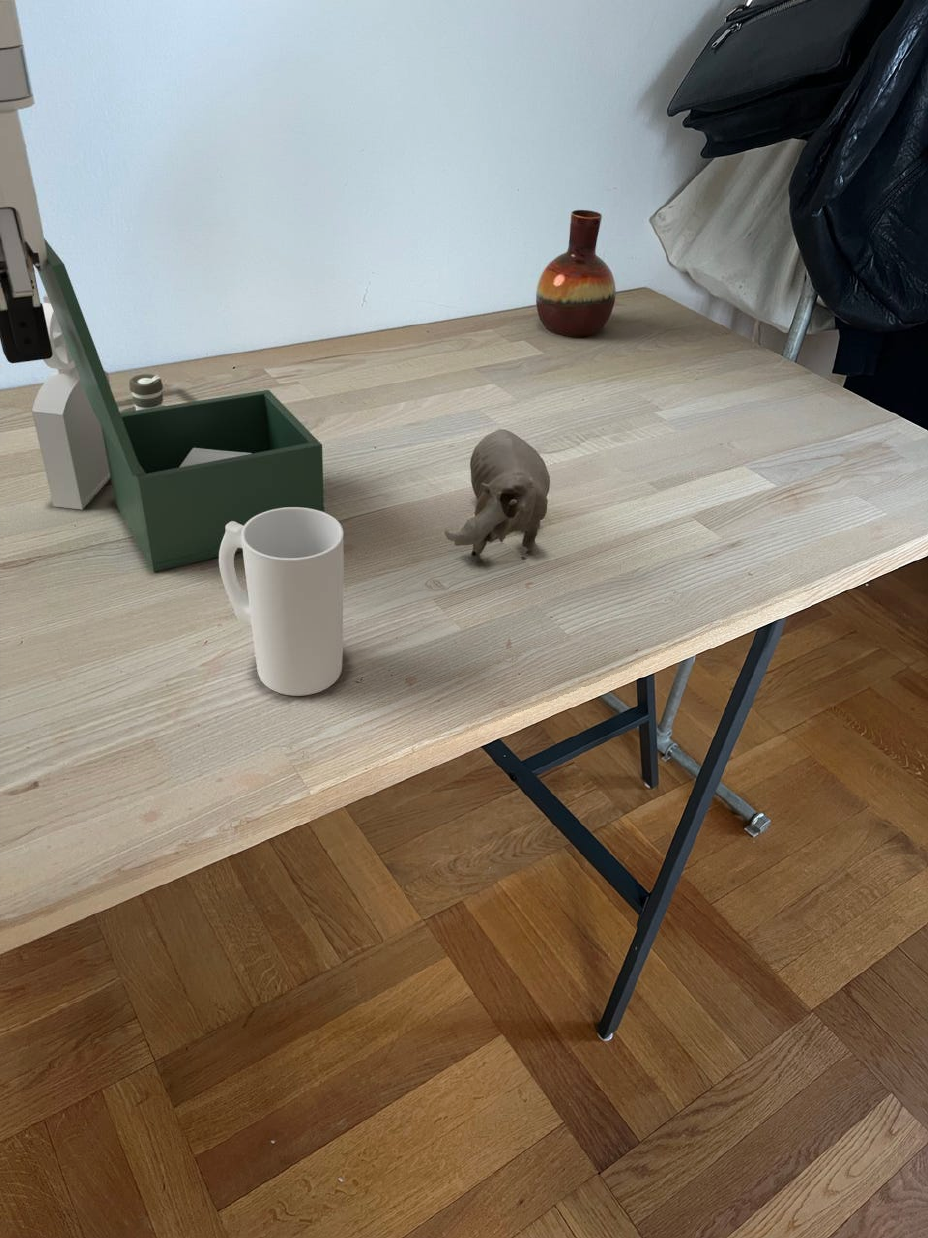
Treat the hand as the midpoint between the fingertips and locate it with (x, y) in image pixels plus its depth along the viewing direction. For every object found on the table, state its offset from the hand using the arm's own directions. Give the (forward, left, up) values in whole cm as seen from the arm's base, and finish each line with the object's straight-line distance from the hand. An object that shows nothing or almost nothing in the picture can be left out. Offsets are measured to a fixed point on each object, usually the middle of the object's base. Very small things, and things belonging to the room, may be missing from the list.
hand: (28, 356), depth 70 cm
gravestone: (+4, +11, -17) cm, 21 cm away
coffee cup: (+13, +22, -17) cm, 31 cm away
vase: (+75, +30, -17) cm, 83 cm away
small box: (+13, 0, -17) cm, 21 cm away
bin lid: (+4, 0, 0) cm, 4 cm away
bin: (+13, 0, -17) cm, 22 cm away
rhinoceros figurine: (+34, -15, -17) cm, 41 cm away
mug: (+10, -22, -17) cm, 30 cm away
